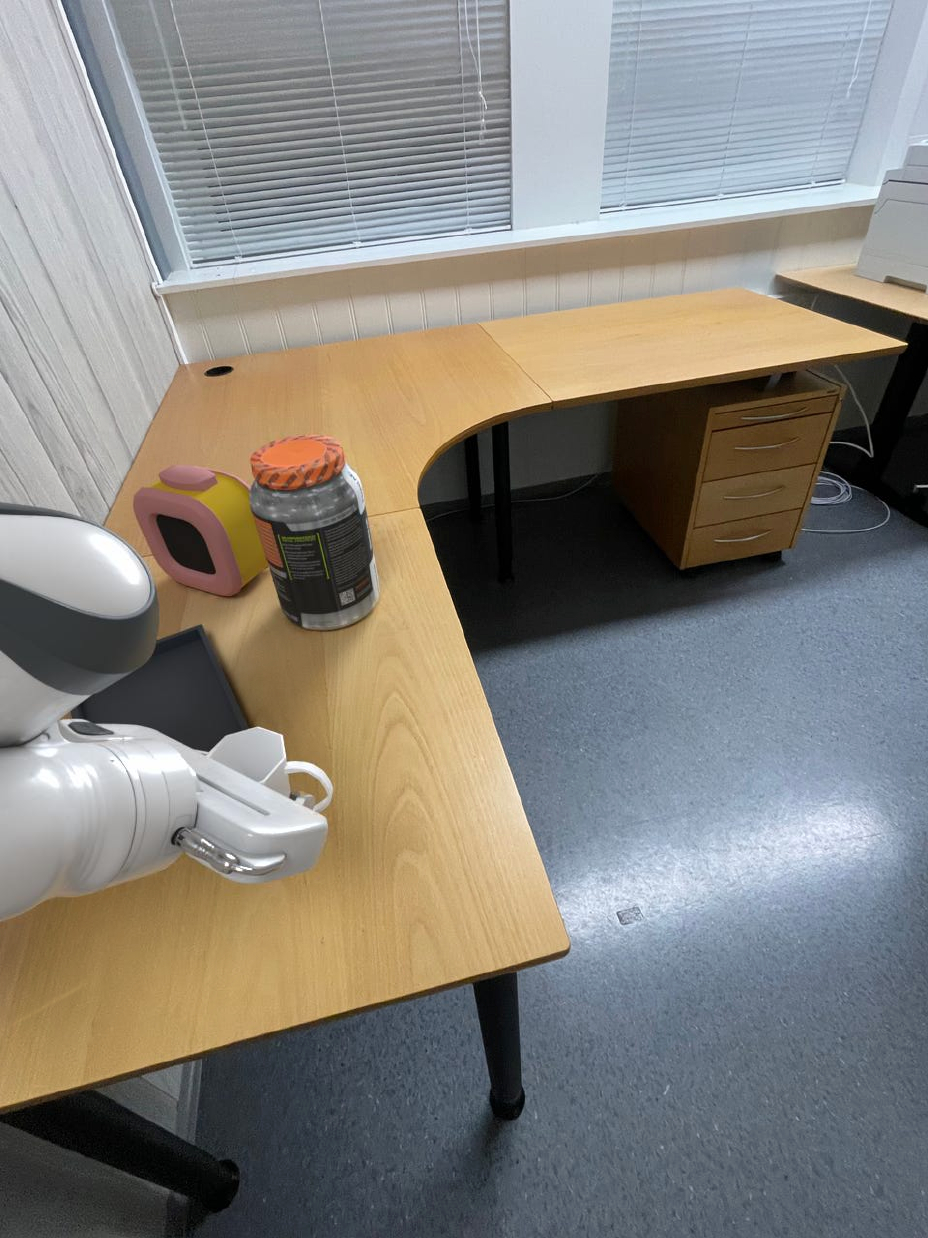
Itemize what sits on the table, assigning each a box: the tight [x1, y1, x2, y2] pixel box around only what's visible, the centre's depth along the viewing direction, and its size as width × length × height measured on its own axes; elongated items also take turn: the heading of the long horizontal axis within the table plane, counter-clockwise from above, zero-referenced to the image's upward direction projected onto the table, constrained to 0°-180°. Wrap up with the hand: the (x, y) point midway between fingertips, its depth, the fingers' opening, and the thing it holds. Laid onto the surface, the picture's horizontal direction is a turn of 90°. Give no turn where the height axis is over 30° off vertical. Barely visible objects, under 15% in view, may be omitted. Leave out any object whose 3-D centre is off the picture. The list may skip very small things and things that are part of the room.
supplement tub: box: [249, 434, 380, 631], centre depth 89 cm, size 16×16×26 cm
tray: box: [70, 623, 250, 752], centre depth 78 cm, size 28×19×3 cm
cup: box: [206, 726, 334, 814], centre depth 51 cm, size 7×10×8 cm
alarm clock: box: [132, 464, 269, 597], centre depth 98 cm, size 18×11×19 cm, turn 65°
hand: (267, 783), depth 52 cm, fingers closed on cup, 7 cm apart
